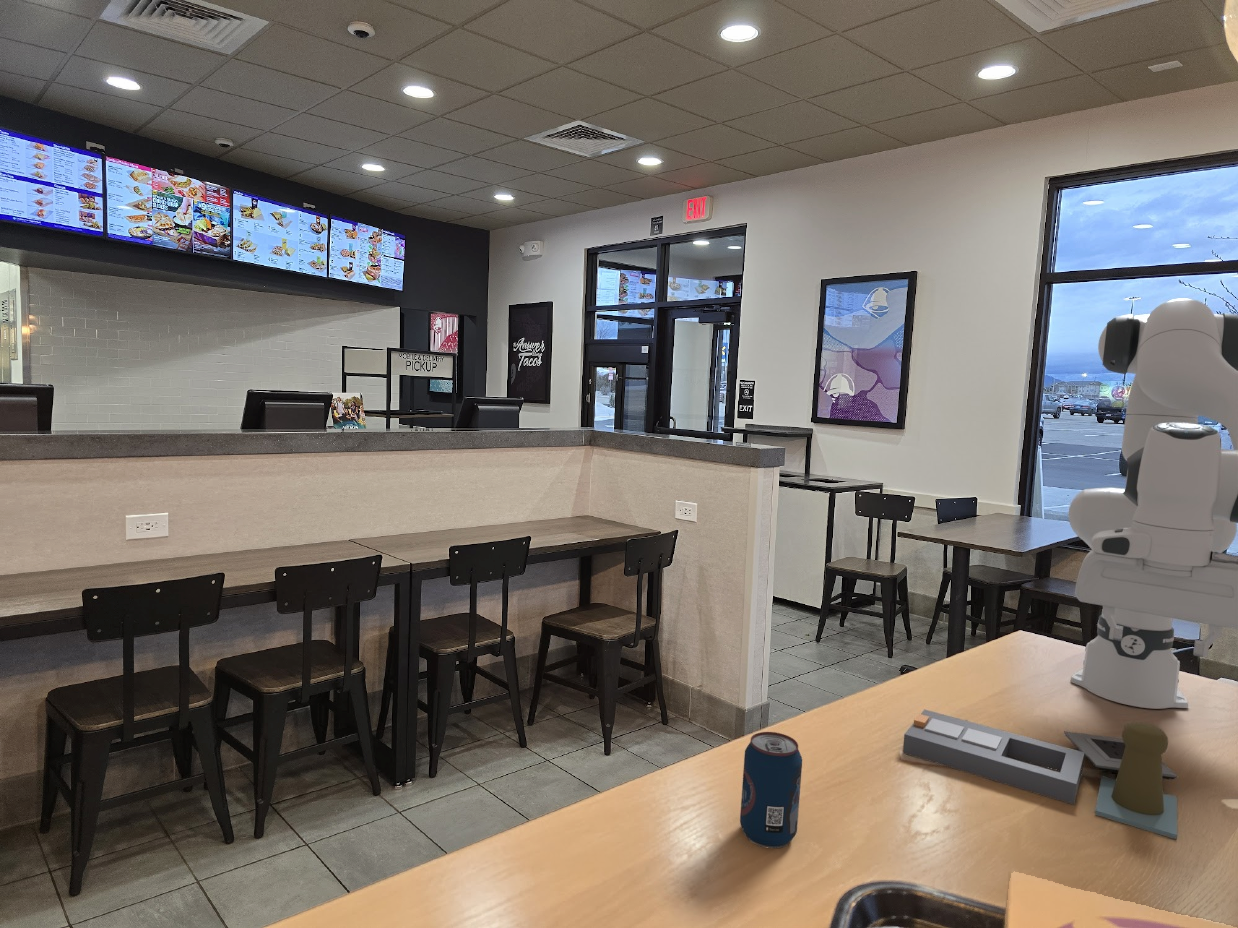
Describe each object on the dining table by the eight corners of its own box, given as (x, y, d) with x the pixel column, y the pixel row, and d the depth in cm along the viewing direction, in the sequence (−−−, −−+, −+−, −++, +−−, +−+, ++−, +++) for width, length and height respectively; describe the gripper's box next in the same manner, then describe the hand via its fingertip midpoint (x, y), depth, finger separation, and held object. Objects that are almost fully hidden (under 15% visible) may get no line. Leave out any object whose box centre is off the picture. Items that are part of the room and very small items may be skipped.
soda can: (736, 817, 100) (742, 727, 99) (790, 820, 100) (797, 730, 99) (742, 849, 94) (749, 753, 92) (801, 853, 93) (808, 757, 92)
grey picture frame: (1176, 789, 112) (1177, 773, 112) (1095, 778, 114) (1096, 762, 114) (1134, 752, 125) (1136, 738, 125) (1062, 743, 127) (1064, 729, 127)
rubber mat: (1101, 779, 115) (1101, 775, 115) (1176, 800, 110) (1176, 796, 110) (1094, 814, 105) (1095, 810, 105) (1176, 839, 100) (1177, 834, 100)
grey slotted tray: (922, 726, 131) (924, 704, 130) (1082, 771, 117) (1085, 747, 117) (902, 752, 121) (904, 728, 120) (1074, 804, 108) (1077, 778, 107)
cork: (1156, 820, 104) (1166, 740, 102) (1105, 800, 108) (1113, 723, 107) (1169, 805, 108) (1178, 728, 106) (1119, 786, 112) (1127, 712, 111)
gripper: (1268, 555, 100) (1253, 659, 102) (1084, 531, 112) (1073, 625, 114) (1273, 563, 95) (1257, 673, 97) (1079, 537, 107) (1068, 635, 108)
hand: (1156, 647), depth 105 cm, fingers open, 8 cm apart
